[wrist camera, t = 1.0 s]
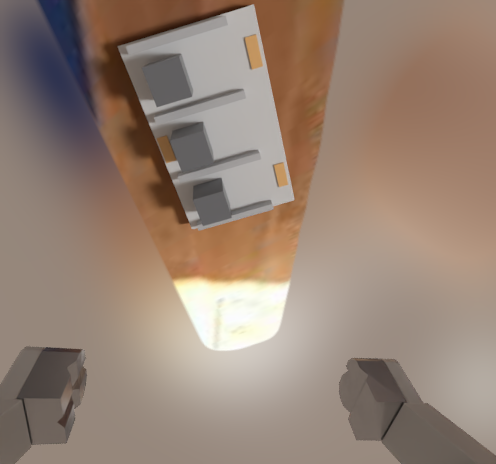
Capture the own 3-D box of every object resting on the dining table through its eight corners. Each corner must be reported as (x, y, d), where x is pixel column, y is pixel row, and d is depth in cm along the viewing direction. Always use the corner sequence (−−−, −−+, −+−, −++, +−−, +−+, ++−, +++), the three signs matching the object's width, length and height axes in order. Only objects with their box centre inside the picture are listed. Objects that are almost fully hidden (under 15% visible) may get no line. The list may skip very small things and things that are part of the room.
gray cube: (147, 63, 35) (141, 67, 31) (181, 53, 35) (179, 56, 31) (161, 99, 37) (156, 107, 33) (193, 90, 37) (192, 96, 33)
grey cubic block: (172, 130, 38) (169, 140, 35) (203, 121, 38) (203, 130, 35) (183, 160, 40) (182, 172, 37) (213, 151, 40) (214, 163, 37)
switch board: (120, 45, 35) (114, 47, 33) (251, 5, 35) (255, 3, 32) (192, 223, 46) (191, 234, 44) (291, 195, 46) (296, 204, 44)
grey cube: (193, 186, 42) (192, 199, 39) (221, 177, 42) (223, 191, 39) (202, 210, 44) (202, 226, 40) (229, 203, 44) (231, 217, 40)
